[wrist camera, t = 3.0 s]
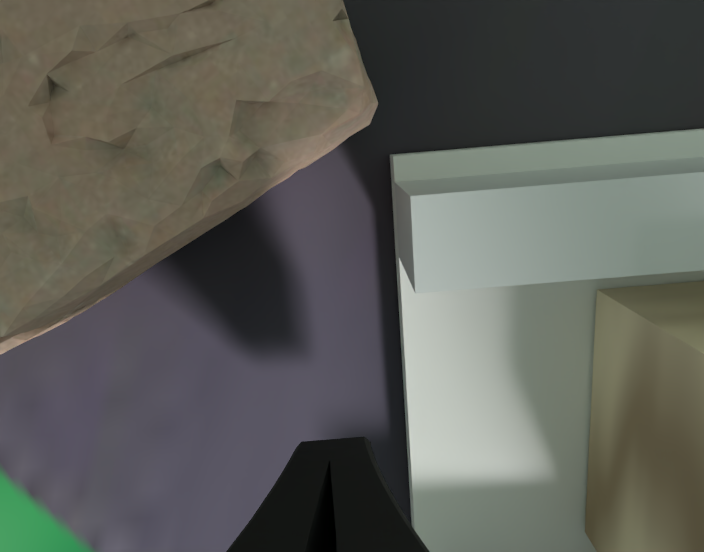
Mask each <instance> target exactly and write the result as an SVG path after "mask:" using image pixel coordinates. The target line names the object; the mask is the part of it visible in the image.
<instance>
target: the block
mask: <svg viewBox="0 0 704 552" xmlns="http://www.w3.org/2000/svg"><path fill="white" fill-rule="evenodd" d="M585 533H586V535H587V536H588V538H589V540H590V541H591V543H592V545H593V546H594V548H595V549H596V551H597V552H704V281H698V282H686V283H673V284H661V285H648V286H636V287H623V288H611V289H598V290H597V296H596V316H595V336H594V356H593V376H592V396H591V416H590V437H589V457H588V477H587V497H586V517H585Z"/></svg>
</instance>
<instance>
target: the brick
mask: <svg viewBox="0 0 704 552" xmlns="http://www.w3.org/2000/svg"><path fill="white" fill-rule="evenodd" d="M377 106H378V101H377V98H376V95H375V92H374V89H373V87H372V84H371V81H370V79H369V78H368V76H367V73H366V70H365V67H364V64H363V61H362V58H361V55H360V51H359V48H358V45H357V42H356V39H355V36H354V34H353V32H352V29H351V26H350V22H349V18H348V15H347V12H346V8H345V5H344V2H343V0H0V354H3V353H4V352H6V351H8V350H10V349H12V348H14V347H16V346H18V345H20V344H22V343H24V342H26V341H28V340H30V339H32V338H34V337H37V336H39V335H41V334H43V333H45V332H47V331H49V330H51V329H53V328H55V327H57V326H59V325H61V324H63V323H65V322H67V321H69V320H70V319H71V318H73V317H74V316H76V315H78V314H80V313H82V312H84V311H86V310H87V309H89V308H90V307H92V306H93V305H95V304H96V303H98V302H99V301H101V300H103V299H104V298H106V297H108V296H109V295H111V294H112V293H114V292H116V291H117V290H119V289H120V288H122V287H123V286H124V285H126V284H127V283H129V282H130V281H132V280H133V279H134V278H136V277H137V276H139V275H140V274H142V273H143V272H145V271H146V270H147V269H149V268H150V267H152V266H153V265H155V264H156V263H158V262H160V261H161V260H163V259H164V258H166V257H168V256H169V255H171V254H172V253H174V252H176V251H177V250H179V249H180V248H182V247H184V246H185V245H187V244H188V243H190V242H191V241H193V240H194V239H196V238H198V237H199V236H201V235H202V234H204V233H205V232H207V231H208V230H210V229H212V228H213V227H215V226H217V225H218V224H220V223H221V222H223V221H225V220H226V219H228V218H229V217H231V216H232V215H233V214H235V213H236V212H238V211H239V210H241V209H243V208H245V207H247V206H248V205H249V204H251V203H252V202H253V201H255V200H256V199H257V198H259V197H260V196H261V195H262V194H264V193H265V192H266V191H268V190H269V189H270V188H272V187H274V186H275V185H277V184H279V183H280V182H282V181H284V180H286V179H287V178H289V177H290V176H291V175H292V174H294V173H295V172H296V171H297V170H300V169H302V168H305V167H307V166H308V165H310V164H311V163H313V162H314V161H316V160H318V159H319V158H321V157H322V156H324V155H325V154H327V153H328V152H330V151H332V150H333V149H334V148H336V147H337V146H338V145H340V144H341V143H342V142H343V141H345V140H346V139H347V138H348V137H350V136H351V135H353V134H355V133H356V132H358V131H360V130H361V129H363V128H365V127H366V126H368V125H370V123H371V120H372V118H373V115H374V113H375V111H376V108H377Z"/></svg>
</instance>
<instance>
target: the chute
mask: <svg viewBox="0 0 704 552" xmlns="http://www.w3.org/2000/svg"><path fill="white" fill-rule="evenodd" d="M390 168H391V185H392V202H393V219H394V236H395V253H396V269H397V286H398V303H399V320H400V337H401V354H402V370H403V387H404V404H405V421H406V438H407V455H408V471H409V488H410V505H411V522H412V527H413V529H414V530H415V531H416V533H417V534H418V536H419V537H420V539H421V540H422V542H423V543H424V544H425V546H426V547H427V549H428V550H429V551H430V552H597V551H596V549H595V548H594V546H593V545H592V543H591V541H590V540H589V538H588V536H587V535H586V533H585V517H586V497H587V477H588V457H589V437H590V416H591V396H592V376H593V356H594V336H595V316H596V296H597V290H598V289H611V288H623V287H636V286H648V285H661V284H673V283H686V282H698V281H704V128H703V129H691V130H679V131H667V132H655V133H643V134H631V135H619V136H607V137H595V138H583V139H571V140H559V141H547V142H535V143H523V144H511V145H499V146H487V147H475V148H463V149H451V150H439V151H427V152H415V153H403V154H391V155H390Z"/></svg>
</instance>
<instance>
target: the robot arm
mask: <svg viewBox="0 0 704 552" xmlns="http://www.w3.org/2000/svg"><path fill="white" fill-rule="evenodd" d="M226 552H430V551H429V550H428V549H427V547H426V546H425V544H424V543H423V542H422V540H421V539H420V537H419V536H418V534H417V533H416V531H415V530H414V529H413V527H412V526H411V524H410V522H409V521H408V519H407V518H406V516H405V515H404V513H403V511H402V510H401V508H400V506H399V505H398V503H397V501H396V499H395V498H394V496H393V494H392V493H391V491H390V489H389V487H388V485H387V484H386V482H385V480H384V478H383V476H382V473H381V471H380V469H379V467H378V465H377V462H376V460H375V457H374V455H373V452H372V448H371V443H370V441H369V440H367V439H366V438H365V437H356V438H343V439H331V440H318V441H305V442H301V443H300V444H299V445H298V446H297V447H296V449H295V451H294V453H293V455H292V456H291V458H290V460H289V462H288V463H287V465H286V467H285V468H284V470H283V472H282V473H281V475H280V477H279V478H278V480H277V481H276V483H275V485H274V486H273V488H272V489H271V491H270V492H269V494H268V495H267V497H266V498H265V500H264V501H263V503H262V504H261V506H260V507H259V508H258V510H257V511H256V513H255V514H254V516H253V517H252V519H251V520H250V521H249V523H248V524H247V525H246V527H245V528H244V529H243V531H242V532H241V533H240V535H239V536H238V537H237V538H236V540H235V541H234V542H233V544H232V545H231V546H230V548H229V549H228V550H227V551H226Z"/></svg>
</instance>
